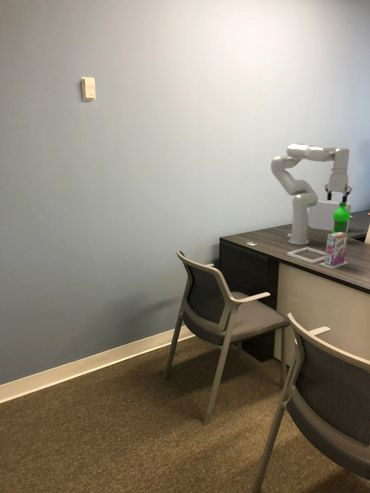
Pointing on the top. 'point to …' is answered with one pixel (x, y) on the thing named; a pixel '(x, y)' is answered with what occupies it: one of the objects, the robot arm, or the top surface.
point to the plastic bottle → (341, 219)
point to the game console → (324, 215)
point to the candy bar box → (335, 248)
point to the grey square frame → (306, 258)
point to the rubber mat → (334, 265)
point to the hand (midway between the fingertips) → (336, 201)
